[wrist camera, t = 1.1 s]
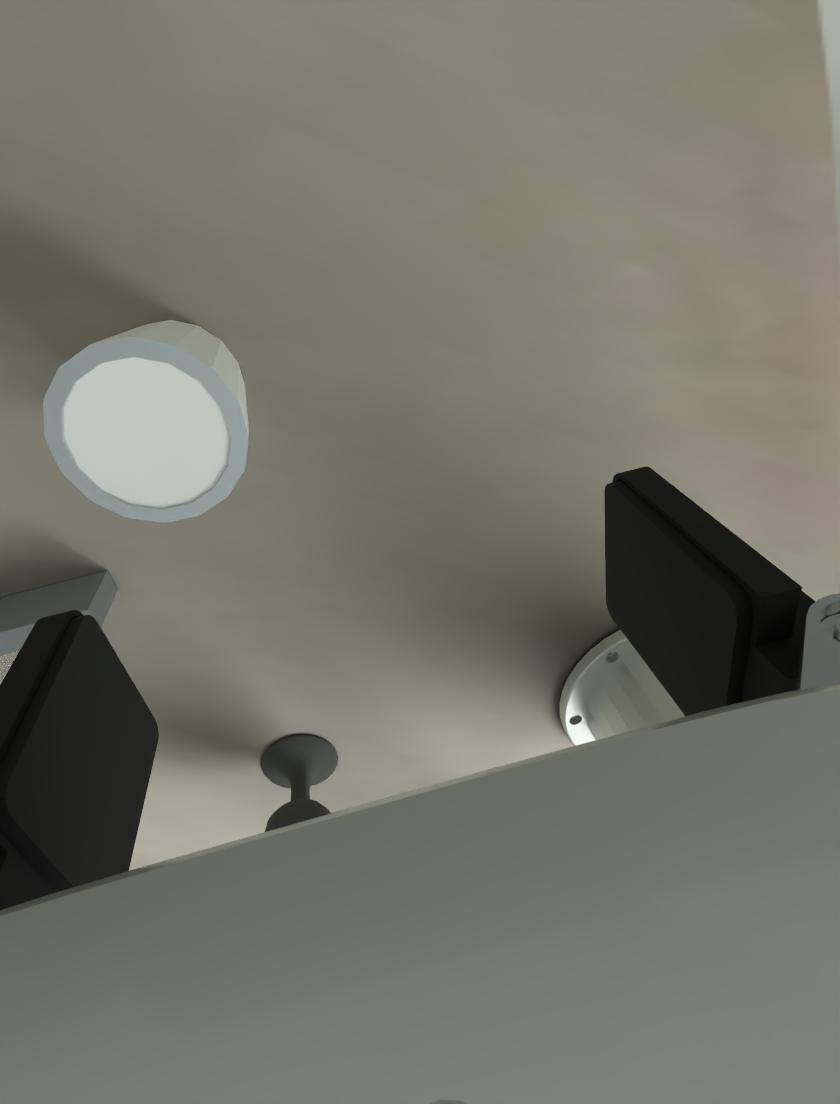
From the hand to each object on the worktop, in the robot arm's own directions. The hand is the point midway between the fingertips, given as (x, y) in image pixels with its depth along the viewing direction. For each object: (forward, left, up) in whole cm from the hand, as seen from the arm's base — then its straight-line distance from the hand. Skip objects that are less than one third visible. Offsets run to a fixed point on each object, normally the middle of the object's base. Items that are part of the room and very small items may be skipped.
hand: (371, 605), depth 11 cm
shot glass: (+7, 0, -20) cm, 21 cm away
